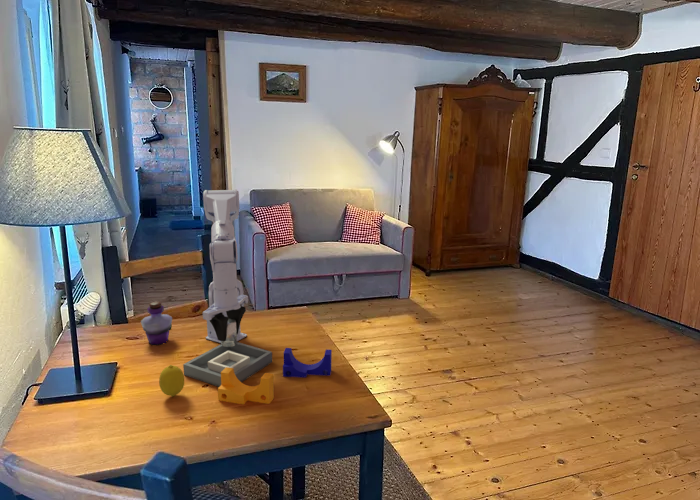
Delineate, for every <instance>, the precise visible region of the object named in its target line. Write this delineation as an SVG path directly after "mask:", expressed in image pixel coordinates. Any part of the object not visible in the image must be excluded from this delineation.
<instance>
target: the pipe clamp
mask: <svg viewBox="0 0 700 500" xmlns="http://www.w3.org/2000/svg"><path fill="white" fill-rule="evenodd" d="M274 391H275V390H274V373H270V372H265V373H264V374H263V375H262V376H261V377H260V382H259V383H258V384H257V385H252V386H251V385H247V384H244V383H243V382H240V381H239V380H238V379H237V377H236V375H235V373H234V369H233V368H228V367H226V368H225V369H224V370H223V371H222V372H221V386H220V387H217V397H218V398H217V401H220V402H227V403H231V404H239V405H245V404H246V403H247V402H248V401H249V402H253V403H260V404H267V405H268V404H269V405H270V404H271V403H272V401H273V399H275V397H274V396H275V394H274Z"/></svg>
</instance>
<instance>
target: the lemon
mask: <svg viewBox="0 0 700 500" xmlns="http://www.w3.org/2000/svg"><path fill="white" fill-rule="evenodd" d="M184 386H185V375H184V371H183V370H182V369H181V368H180V367H179V366H176V365H173V364H169V365H168V366H166V367H164V369H162V371H160V374H159V388H160V390H161V392H162V393H163V394H164V395H165V396H168V397H169V396H171V397H172V398H173V397H175V396H176V395H178V394H180V392H182V390H183V389H184Z"/></svg>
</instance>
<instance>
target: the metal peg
mask: <svg viewBox="0 0 700 500" xmlns="http://www.w3.org/2000/svg"><path fill="white" fill-rule="evenodd" d="M237 342H238V341H237V331H236V320H234V319H229V320H228V323H227V328H226V341H221V343H220V344H221V345H222V346H225V347H231V346H234V345H236V344H237Z"/></svg>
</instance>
